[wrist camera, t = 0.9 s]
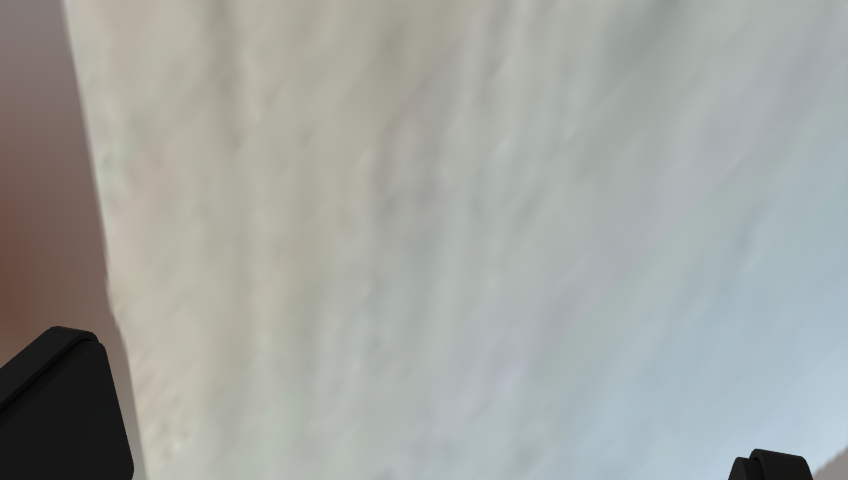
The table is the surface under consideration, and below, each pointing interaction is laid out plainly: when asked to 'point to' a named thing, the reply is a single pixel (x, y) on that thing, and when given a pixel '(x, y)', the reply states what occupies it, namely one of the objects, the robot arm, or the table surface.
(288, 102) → the table surface
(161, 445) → the table surface
